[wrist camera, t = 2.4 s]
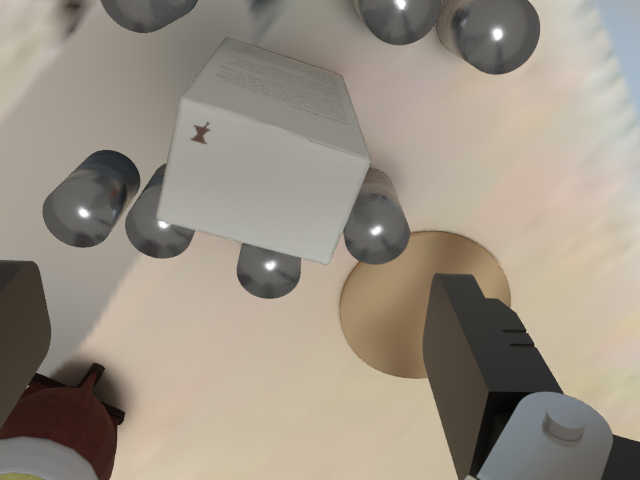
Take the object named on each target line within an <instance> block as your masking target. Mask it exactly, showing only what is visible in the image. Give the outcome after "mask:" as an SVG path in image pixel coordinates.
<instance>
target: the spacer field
mask: <svg viewBox="0 0 640 480" xmlns="http://www.w3.org/2000/svg"><path fill="white" fill-rule="evenodd" d="M197 1H198V0H101V3H102V5H103V7H104V9H105V10H106V12H107V13H108V14H109V16H110V17H111V18H112V19H113V20H114V21H115V22H117V23H118V24H119V25H121V26H122V27H124V28H126V29H128V30H131V31H134V32H139V33H148V32H153V31H157V30H159V29H161V28H163V27H165V26H166V25H168V24H170V23H172V22H174V21H175V20H177V19H179V18H181V17H182V16H184V15H186V14H187V13H189V12H190V11H191V10H192V9H193V8H194V6H195V5H196V3H197ZM353 5H354V8H355V11H356V13H357V15H358V16H359V18H360V19H361V20H362V21H363V22H364V24H365V25H366V26H367V27H368V28H369V29H370V31H371V32H372V33H373V34H374V35H375V36H376V37H377V38H379V39H380V40H382V41H384V42H386V43H389V44H392V45H406V44H410V43H413V42H415V41H417V40H419V39H421V38H422V37H423V36H425V35H426V34H427V33H428V32H429V31H430V30H431V28H432V27H433V26H434V24H435V22H436V20H437V33H438V36H439V38H440V40H441V42H442V43H443V45H444V46H445V47H446V48H448V49H449V50H450V51H452V52H453V53H455V54H456V55H458V56H459V57H461V58H462V59H464V60H465V61H467V62H468V63H469V64H471V65H472V66H474V67H475V68H477V69H479V70H480V71H482V72H484V73H488V74H494V75H496V74H505V73H508V72H511V71H513V70H515V69H517V68H518V67H520V66H521V65H523V64H524V63H525V62H526V61H527V60H528V59H529V57H530V56H531V55H532V53H533V52H534V50H535V48H536V46H537V43H538V40H539V35H540V21H539V17H538V14H537V12H536V10H535V8H534V7H533V6H532V4H531V3H530V2H529V1H527V0H445V1H444V2H443V4H442V6H441V0H353ZM166 164H167V163H166ZM166 164H164V165H162V166H161V167H160V168H158V169H157V170H156V172H155V174H154V175H153V176H152V178H151V179H150V181H149V183H148V184H147V186H146V187H145V189H144V190H143V192H142V193H141V195H140V196H139V198H138V199H137V201H136V202H135V204H134V205H133V207H132V208H131V210H130V211H129V213H128V215H127V218H126V222H125V229H126V233H127V236H128V238H129V240H130V242H131V243H132V244H133V245H134V247H136V248H137V249H138V250H139V251H140V252H142V253H144V254H146V255H148V256H151V257H154V258H171V257H175V256H177V255H179V254H181V253H182V252H183V251H185V250H186V249H187V247H188V246H189V244H190V242H191V240H192V237H193V235H194V232H195V230H192V229H188V228H185V227H181V226H177V225H174V224H170V223H166V222H162V221H159V220H158V219H157V218H156V213H157V208H158V203H159V198H160V193H161V189H162V184H163V179H164V174H165V169H166ZM139 187H140V175H139V172H138V170H137V168H136V166H135V164H134V163H133V162H132V161H131V160H130V159H129V158H128V157H126V156H125V155H123V154H121V153H119V152H116V151H112V150H102V151H97V152H95V153H93V154H91V155H90V156H89V157H88V158H87V159H86V160H85V161H84V162H83V163H82V164H81V165H79V166H78V167H77V168H76V169H75V170H74V171H73V172H72V173H71V174H70V175H69V176H68V177H67V178H66V179H65V180H64V181H63V182H62V183H61V184H60V185H59V186H58V187H57V188H56V189H55V190H54V191H53V192H52V193H51V194H50V195H49V196H48V197H47V198H46V200H45V202H44V205H43V218H44V221H45V224H46V226H47V228H48V229H49V230H50V232H51V233H52V234H53V235H54V236H55V237H56V238H57V239H59V240H60V241H62V242H64V243H66V244H68V245H71V246H75V247H92V246H95V245H98V244H99V243H101V242H102V241H104V240H105V239H106V238H107V236H108V235H109V233H110V232H111V230H112V229H113V228H114V226H115V225H116V223H117V222H118V220H119V219H120V217H121V216H122V214H123V213H124V211H125V210H126V208H127V207H128V205H129V204H130V203H131V201H132V199H133V198H134V196H135V195H136V194H137V192H138V190H139ZM343 231H344V238H345V244H346V247H347V249H348V251H349V252H350V254H351V255H352V256H353V257H354V258H356V259H357V260H359V261H361V262H363V263H366V264H372V265H379V264H384V263H388V262H390V261H392V260H394V259H396V258H397V257H398V256H400V255H401V254H402V252H403V251H404V250H405V248H406V247H407V245H408V242H409V238H410V230H409V226H408V223H407V221H406V218H405V215H404V213H403V210H402V208H401V205H400V202H399V200H398V197H397V195H396V192H395V190H394V187H393V184H392V182H391V180H390V179H389V178H388V176H386V175H385V174H384V173H383V172H381V171H379V170H376V169H372V168H369V169H368V171H367V174H366V176H365V178H364V181H363V183H362V186H361V188H360V191H359V193H358V196H357V198H356V201H355V203H354V205H353V208H352V210H351V213H350V215H349V217H348V220H347V222H346V225H345V227H344V230H343ZM300 274H301V258H299V257H295V256H291V255H288V254H284V253H280V252H276V251H272V250H269V249H265V248H261V247H257V246H253V245H249V244H245V243H242V245H241V250H240V255H239V260H238V265H237V276H238V279H239V282H240V283H241V285H242V286H243V287H244V288H245V289H246V290H247V291H248V292H249V293H251V294H253V295H255V296H257V297H260V298H266V299H273V298H278V297H282V296H284V295H286V294H288V293H289V292H291V291H292V290H293V289H294V288H295V287H296V285H297V284H298V281H299V279H300Z"/></svg>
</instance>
